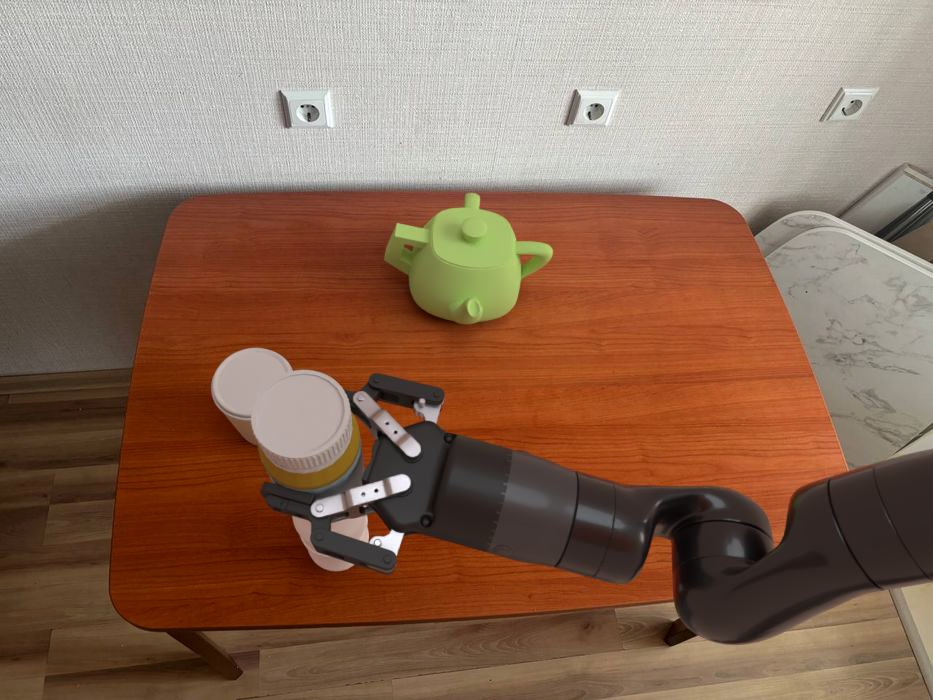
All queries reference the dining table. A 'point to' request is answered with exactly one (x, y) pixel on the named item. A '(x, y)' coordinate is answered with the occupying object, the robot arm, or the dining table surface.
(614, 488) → the robot arm
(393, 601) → the dining table surface
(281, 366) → the coffee cup
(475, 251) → the teapot
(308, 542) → the water bottle
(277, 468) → the bottle
